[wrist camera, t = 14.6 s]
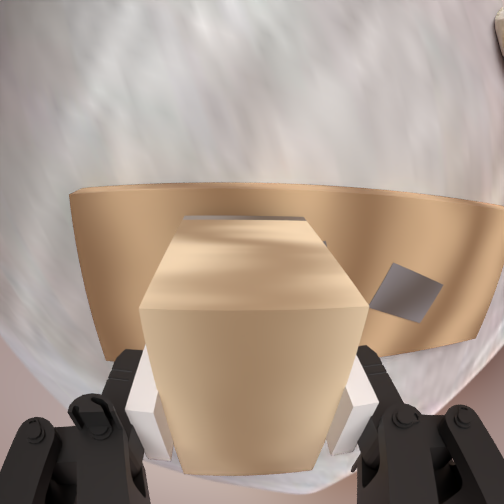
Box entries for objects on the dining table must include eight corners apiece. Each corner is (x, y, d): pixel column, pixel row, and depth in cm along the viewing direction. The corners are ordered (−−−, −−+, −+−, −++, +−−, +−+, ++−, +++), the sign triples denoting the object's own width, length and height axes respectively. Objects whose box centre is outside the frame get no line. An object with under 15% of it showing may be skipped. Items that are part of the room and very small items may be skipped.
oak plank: (112, 345, 17) (105, 361, 16) (82, 187, 13) (68, 194, 12) (465, 327, 19) (476, 338, 18) (502, 205, 15) (517, 212, 14)
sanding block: (195, 360, 16) (184, 474, 9) (184, 215, 12) (138, 308, 6) (287, 359, 16) (312, 470, 9) (303, 216, 13) (369, 306, 6)
